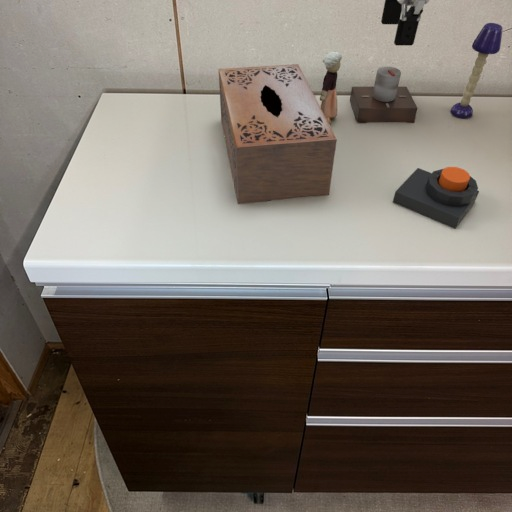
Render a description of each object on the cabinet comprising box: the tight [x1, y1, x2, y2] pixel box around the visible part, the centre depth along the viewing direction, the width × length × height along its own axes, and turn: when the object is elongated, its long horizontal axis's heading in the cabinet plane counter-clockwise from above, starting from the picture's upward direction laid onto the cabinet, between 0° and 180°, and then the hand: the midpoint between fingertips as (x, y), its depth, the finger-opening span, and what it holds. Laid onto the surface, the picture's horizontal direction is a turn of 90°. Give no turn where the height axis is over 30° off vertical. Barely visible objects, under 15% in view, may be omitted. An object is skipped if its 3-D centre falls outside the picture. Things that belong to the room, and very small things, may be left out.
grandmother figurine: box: [319, 51, 343, 126], centre depth 87 cm, size 8×4×13 cm, turn 168°
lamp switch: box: [439, 166, 471, 192], centre depth 70 cm, size 4×4×2 cm
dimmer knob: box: [373, 66, 402, 102], centre depth 89 cm, size 4×4×5 cm
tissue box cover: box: [218, 63, 338, 205], centre depth 79 cm, size 26×14×10 cm, turn 9°
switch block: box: [392, 167, 480, 230], centre depth 72 cm, size 10×8×4 cm
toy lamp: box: [449, 22, 503, 120], centre depth 87 cm, size 5×5×17 cm
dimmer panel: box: [349, 86, 419, 124], centre depth 92 cm, size 11×9×3 cm
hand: (396, 33), depth 83 cm, fingers open, 9 cm apart
